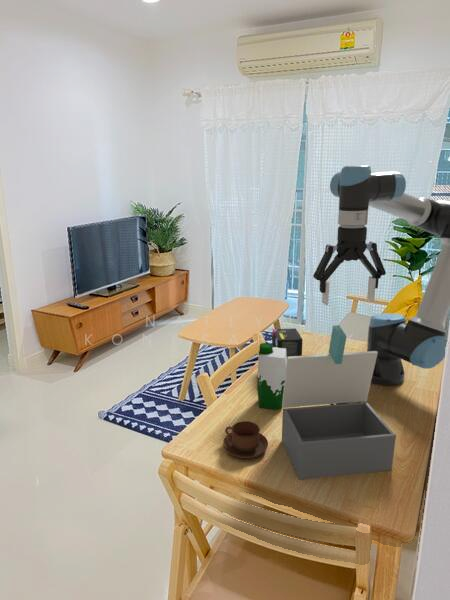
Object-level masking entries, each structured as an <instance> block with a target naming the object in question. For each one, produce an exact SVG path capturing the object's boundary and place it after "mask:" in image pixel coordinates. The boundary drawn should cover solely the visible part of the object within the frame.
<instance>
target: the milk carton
mask: <svg viewBox="0 0 450 600" xmlns="http://www.w3.org/2000/svg"><path fill="white" fill-rule="evenodd" d="M257 360H258V362H257V398H258V408H259V409H268V410H276V409H277V410H276V411H283V407H282V401H283V392H284V383H285V373H286V364H287V355H286V348H278V347H273V345H272V343H269V342H263V343H260V344H259V350H258V359H257Z"/></svg>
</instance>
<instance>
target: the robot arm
mask: <svg viewBox="0 0 450 600" xmlns="http://www.w3.org/2000/svg"><path fill="white" fill-rule="evenodd" d="M406 187H407V181H406V177H405V176H404V175H403V174H402V172H398V171H392V170H391V171H390V170H389V171H372V167H371V166H370V165H363V164H362V165H346V166H343V167H342V168H341V169H340V171H339V172H336V173H335V174H334V175H333V176H332V177H331V180H330V183H329V189H330V192H331V194H332V195H333V196H334V197H336V198H339V199H338V217H337V218H338V219H337V220H338V221H337V225H339V226H338V227H337V236H336V237H337V243H336V245H331V244H326V245H325V248H324V250H325V251H324V254H323V256H322V258H321V259H320V261H319V264H318V265H317V267H316V269H315V272H314V273H313V277H312V278H314V280H317V281H319V291H320V293H322V294H321V295H322V296H321V298H322V299H321V303H323V304H324V305H325V306H328V305H329V297H330V282H329V278H330V277H331V276H332V275H333V274H334V272H335V271H336V270H337V269H338V268H339V267H340V265H341V264H342V263H344V262H345V261H346V262H351V261H358V260H359V261H360V263H361V264H362V265H363V266H364V267H365V269H367V271H368V272H369V274H370V275H371V276H370V275H369V276H368V279H367V280H368V283H367V285H368V286H367V299H368V300H369V301H371V302H374V301H375V299H376V298H375V297H376V295H375V294H376V289H378V288H379V279H381V278H382V276H385V275H386V274H387V272H386V268H385V267H384V264H383V261H382V260H381V257H380V255H379V251H378V244H377V242H373V241H369V242H368V243H366V241H367V235H368V234H367V233H368V228H367V226H366V225H368V217H369V216H368V215H369V207H371V208H373V209H375V210H378V211H381V212H384V213H386V214H389V215H392V216H395V217H398V218H400V219H403V220H405V221H406V223H408V225H410V226H413V227H415V228H417V229H420V230H421V231H425V232H426V233H429V234H431V235H435V236H439V237H440V238H439V240H440V243H441V245H442V246H441V249H440V252H439V254H438V257H437V260H436V261H435V264H434V267H433V270H432V272H431V275H430V278H429V279H428V283H427V285H426V288H425V290H424V293H423V296H422V298H421V301H420V303H419V306H418V308H417V311H416V314H415V315H414V316H412V317H410V318H408V320H407V319H406V318H407V317H406V316H405V315H402V314H399V313H392V312H391V313H390V312H389V313H388V312H387V313H385V312H384V313H378V314H373V315H372V316H371V317H370V318H369V319H370V320H369V325H368V332H367V335H368V336H367V344H366V345H367V346H366V352H368V351H377V352H378V354H377V358H376V362H375V367H374V371H373V375H372V380H371V383H372V384H375V385H380V386H381V385H382V386H395V385H400V384H402V383H403V382H404V381H405V380H404V379H405V369H404V364H403V361H405V362H407V363H410V364H411V365H412V366H415V367H419V368H421V369H423V370H425V369H426V370H428V369H432V368H435V367H436V366H438V365H439V364H440V363H441V362H442V361H443V360H444V358H445V357H446V356H445V347H446V342H447V341H448V339H447V338H446V337H445V336H446V333H447V331H446V329H445V326H444V324H445V321H446V319H447V317H448V314H449V311H450V200H446V199H441V200H440V199H430V198H427V197H423V196H418V197H416V196H414V195H411V194H408V193H406V192H405V191H406ZM366 250H367V251H368V252H369V254H370V257H371V260H372V261H373V264H372V262H370V260H368V257H367V256H366V255H365V254H364V253H365V251H366ZM335 252H337V253H336V255H335V256H334V258H333V260H332V261H331V259H332V257H333V254H334V253H335ZM330 261H331V262H330ZM329 263H330V264H329ZM402 360H403V361H402Z"/></svg>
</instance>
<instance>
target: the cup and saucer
mask: <svg viewBox="0 0 450 600" xmlns="http://www.w3.org/2000/svg"><path fill="white" fill-rule="evenodd" d="M224 430H225V434H226V436H225V438H224V439H223V448H224V449H225V451H226V452H227V453H229V454H230V455H231V456H233V457H236V458H239V459H254V458H257V457H259V456H261V455H263V454H264V453H265V452H266V451H267V449H268V446H269V441H268V439H267V437H266V436H265V435H263V434H262V433H260V427H259V425H258V424H256V423H255V422H252V421H247V420H246V421H245V420H244V421H239V422H236V423H234V424H233V425H232V426H227V427H225V429H224ZM228 430H231V432H230V433H229V431H228Z"/></svg>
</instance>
